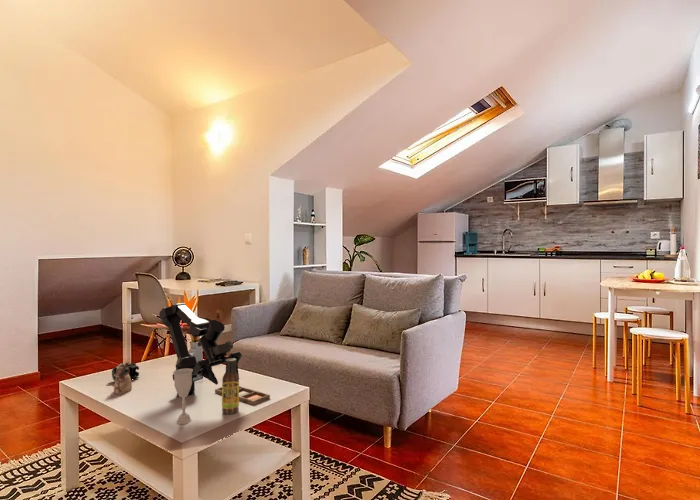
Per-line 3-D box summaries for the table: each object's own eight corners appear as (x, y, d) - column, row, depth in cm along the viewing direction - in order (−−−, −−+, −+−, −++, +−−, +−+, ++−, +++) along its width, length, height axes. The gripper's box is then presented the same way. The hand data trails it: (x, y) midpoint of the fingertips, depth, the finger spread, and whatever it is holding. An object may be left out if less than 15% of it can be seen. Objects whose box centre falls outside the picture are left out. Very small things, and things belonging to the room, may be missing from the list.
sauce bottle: (221, 415, 157) (220, 362, 157) (222, 409, 163) (221, 357, 163) (239, 413, 158) (238, 360, 158) (239, 407, 164) (238, 356, 164)
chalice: (177, 417, 156) (176, 368, 156) (196, 416, 157) (195, 368, 156) (170, 425, 149) (169, 374, 149) (190, 424, 149) (189, 374, 149)
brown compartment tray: (215, 392, 182) (215, 389, 182) (231, 387, 189) (231, 383, 189) (253, 405, 167) (253, 401, 167) (269, 398, 174) (269, 394, 174)
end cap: (133, 375, 208) (132, 362, 208) (140, 378, 204) (139, 364, 204) (111, 381, 201) (111, 366, 200) (118, 384, 196) (118, 369, 196)
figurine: (111, 390, 187) (110, 363, 187) (128, 386, 192) (127, 360, 192) (116, 394, 182) (116, 366, 182) (134, 390, 187) (133, 363, 187)
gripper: (196, 339, 158) (214, 374, 151) (238, 331, 172) (256, 362, 165) (186, 357, 163) (202, 392, 156) (228, 348, 177) (244, 379, 170)
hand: (227, 380), depth 161 cm, fingers open, 9 cm apart
